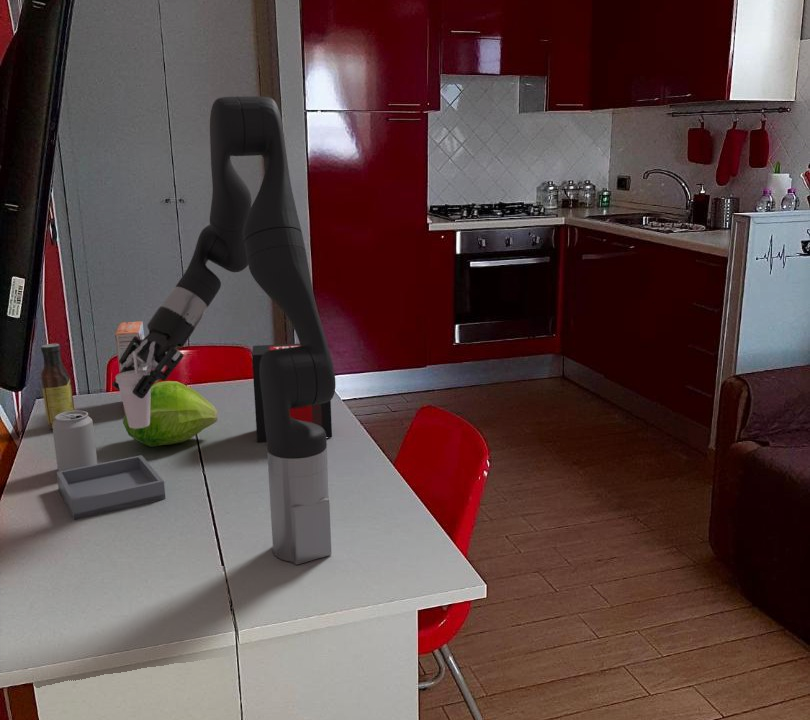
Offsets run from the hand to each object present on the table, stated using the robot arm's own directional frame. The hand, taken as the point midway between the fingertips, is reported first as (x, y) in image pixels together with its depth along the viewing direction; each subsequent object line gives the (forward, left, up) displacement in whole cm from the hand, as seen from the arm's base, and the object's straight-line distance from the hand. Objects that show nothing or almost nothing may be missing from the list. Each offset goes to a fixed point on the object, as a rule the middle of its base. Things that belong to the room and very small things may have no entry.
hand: (127, 392), depth 145 cm
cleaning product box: (+17, -39, -21) cm, 48 cm away
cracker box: (+58, -14, -21) cm, 63 cm away
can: (+21, +7, -21) cm, 30 cm away
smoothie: (+1, -2, -7) cm, 7 cm away
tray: (+5, +4, -21) cm, 21 cm away
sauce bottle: (+52, +5, -21) cm, 56 cm away
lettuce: (+27, -14, -21) cm, 37 cm away
